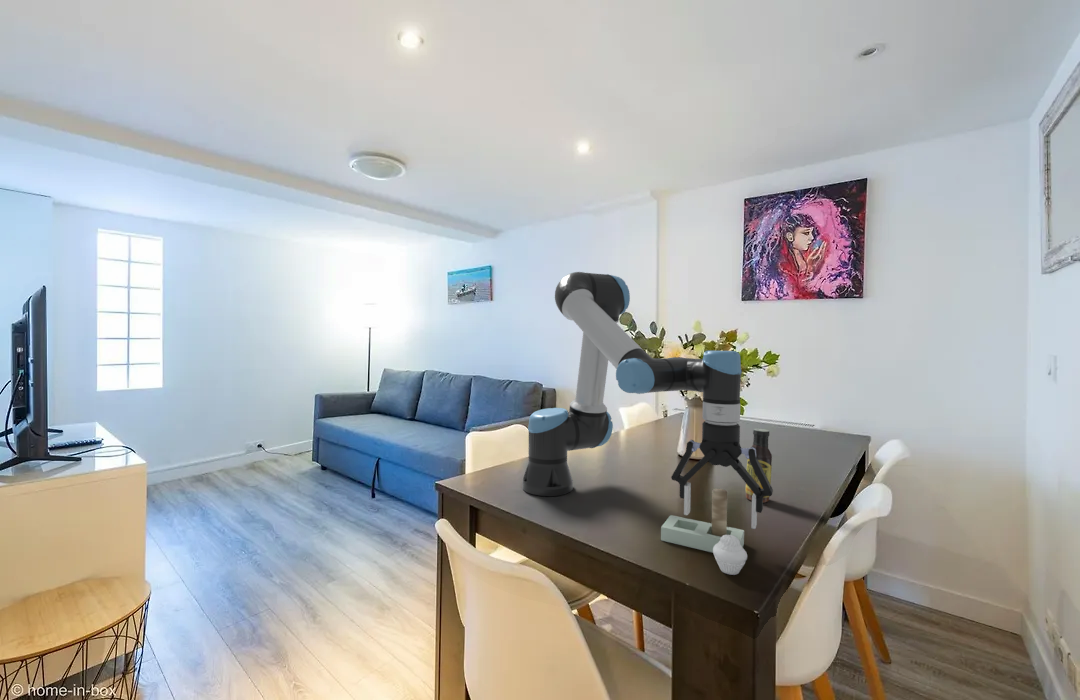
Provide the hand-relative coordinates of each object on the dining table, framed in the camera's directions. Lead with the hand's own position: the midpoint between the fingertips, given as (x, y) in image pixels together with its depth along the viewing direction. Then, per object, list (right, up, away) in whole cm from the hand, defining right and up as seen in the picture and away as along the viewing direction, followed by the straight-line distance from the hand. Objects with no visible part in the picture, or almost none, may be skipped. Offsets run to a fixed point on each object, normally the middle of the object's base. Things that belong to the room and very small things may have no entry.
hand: (719, 519), depth 97 cm
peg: (0, -6, 0) cm, 6 cm away
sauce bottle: (+22, -6, +29) cm, 37 cm away
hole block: (-3, -6, +2) cm, 7 cm away
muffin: (-2, -6, -10) cm, 12 cm away
